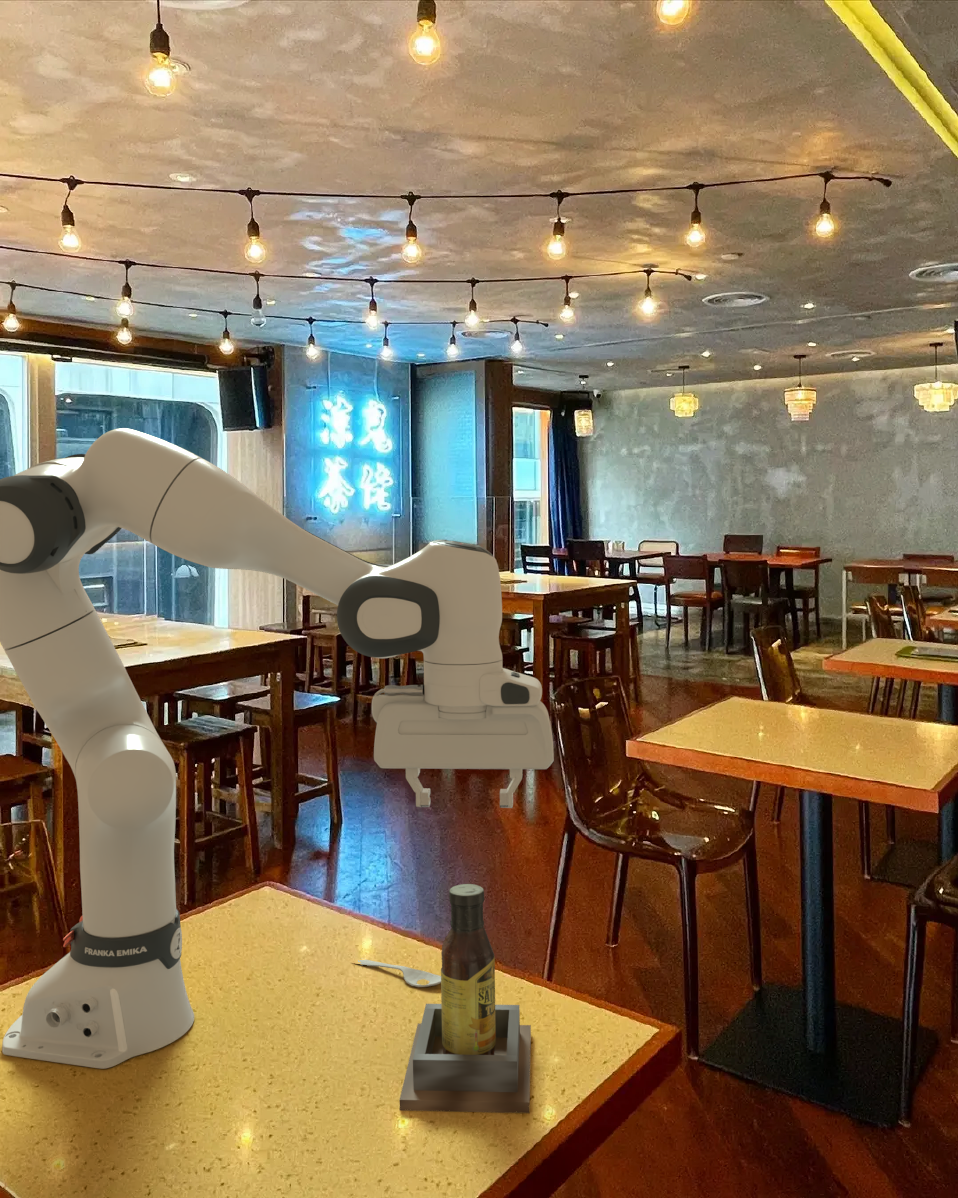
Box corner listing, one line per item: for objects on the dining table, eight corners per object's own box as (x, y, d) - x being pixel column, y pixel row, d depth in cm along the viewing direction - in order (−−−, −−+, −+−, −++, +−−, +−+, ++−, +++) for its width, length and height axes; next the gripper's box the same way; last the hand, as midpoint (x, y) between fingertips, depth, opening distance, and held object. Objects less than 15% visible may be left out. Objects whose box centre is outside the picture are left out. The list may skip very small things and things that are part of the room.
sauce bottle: (490, 1075, 110) (487, 903, 108) (436, 1069, 111) (432, 899, 109) (500, 1044, 116) (498, 881, 114) (449, 1039, 117) (446, 878, 116)
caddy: (399, 1110, 105) (398, 1068, 105) (418, 1032, 121) (417, 996, 121) (529, 1113, 104) (528, 1071, 104) (530, 1034, 120) (530, 998, 120)
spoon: (434, 998, 131) (434, 986, 131) (320, 961, 142) (320, 950, 142) (452, 985, 134) (452, 974, 134) (340, 950, 146) (339, 940, 146)
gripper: (366, 689, 107) (368, 813, 108) (553, 690, 105) (554, 815, 107) (376, 680, 113) (378, 797, 114) (553, 680, 112) (553, 799, 113)
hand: (464, 806), depth 110 cm, fingers open, 8 cm apart
